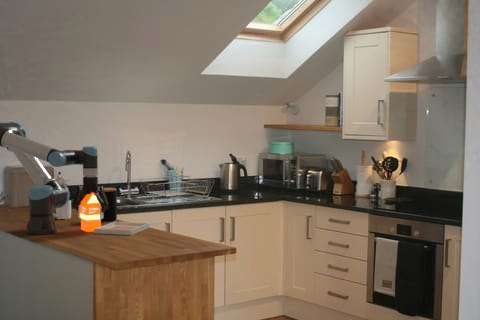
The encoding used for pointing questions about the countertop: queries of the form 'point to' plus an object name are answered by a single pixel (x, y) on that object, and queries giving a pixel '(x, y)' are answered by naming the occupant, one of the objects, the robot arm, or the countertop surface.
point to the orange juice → (90, 213)
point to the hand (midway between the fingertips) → (90, 218)
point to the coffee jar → (110, 204)
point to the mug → (63, 211)
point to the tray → (121, 228)
